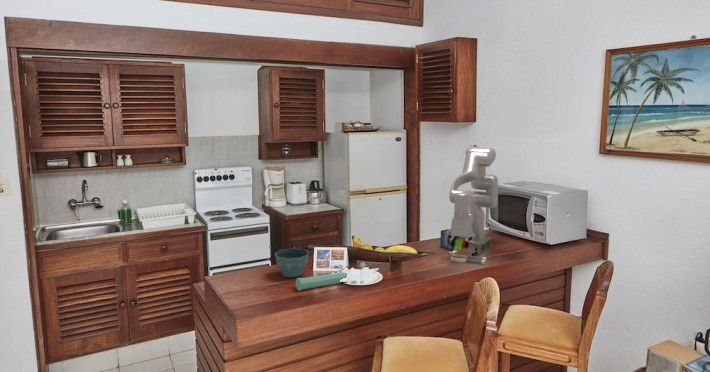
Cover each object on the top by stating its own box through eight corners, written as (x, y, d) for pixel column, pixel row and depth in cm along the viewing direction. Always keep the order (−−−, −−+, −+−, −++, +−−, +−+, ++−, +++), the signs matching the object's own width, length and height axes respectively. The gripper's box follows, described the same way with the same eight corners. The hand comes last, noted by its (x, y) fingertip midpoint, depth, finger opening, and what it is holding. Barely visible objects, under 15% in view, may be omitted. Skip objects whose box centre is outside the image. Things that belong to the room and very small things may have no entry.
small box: (439, 247, 297) (440, 230, 295) (447, 245, 300) (448, 228, 299) (452, 251, 288) (452, 233, 286) (460, 249, 291) (460, 232, 290)
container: (345, 268, 235) (296, 275, 222) (351, 275, 231) (302, 283, 218) (342, 277, 238) (294, 285, 225) (348, 285, 234) (299, 294, 221)
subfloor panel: (452, 256, 277) (452, 253, 277) (486, 259, 272) (486, 257, 271) (450, 261, 269) (450, 258, 269) (485, 264, 263) (485, 261, 263)
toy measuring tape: (470, 248, 275) (470, 236, 275) (455, 255, 260) (456, 243, 259) (459, 246, 279) (459, 234, 278) (444, 253, 263) (444, 241, 262)
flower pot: (272, 279, 235) (272, 257, 233) (278, 269, 251) (277, 248, 249) (306, 280, 235) (306, 258, 233) (310, 269, 251) (310, 248, 249)
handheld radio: (492, 248, 297) (475, 257, 277) (486, 247, 299) (469, 256, 279) (492, 237, 296) (475, 245, 276) (486, 236, 298) (469, 245, 278)
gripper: (478, 215, 269) (476, 247, 272) (445, 213, 274) (444, 244, 277) (477, 218, 262) (475, 251, 264) (443, 215, 267) (442, 248, 270)
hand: (459, 247), depth 271 cm, fingers closed on toy measuring tape, 6 cm apart
